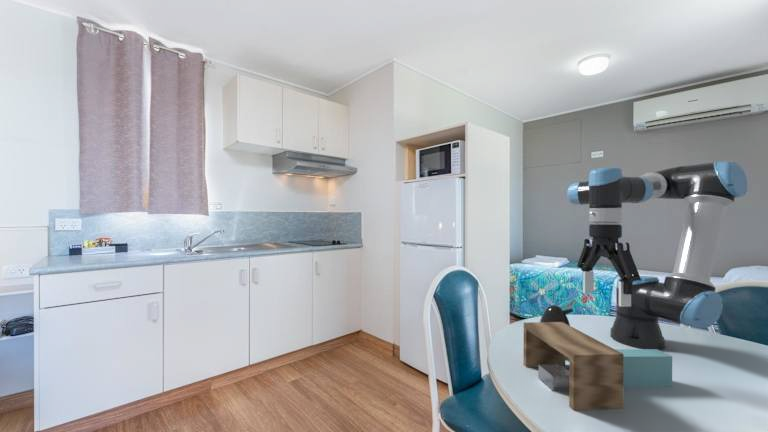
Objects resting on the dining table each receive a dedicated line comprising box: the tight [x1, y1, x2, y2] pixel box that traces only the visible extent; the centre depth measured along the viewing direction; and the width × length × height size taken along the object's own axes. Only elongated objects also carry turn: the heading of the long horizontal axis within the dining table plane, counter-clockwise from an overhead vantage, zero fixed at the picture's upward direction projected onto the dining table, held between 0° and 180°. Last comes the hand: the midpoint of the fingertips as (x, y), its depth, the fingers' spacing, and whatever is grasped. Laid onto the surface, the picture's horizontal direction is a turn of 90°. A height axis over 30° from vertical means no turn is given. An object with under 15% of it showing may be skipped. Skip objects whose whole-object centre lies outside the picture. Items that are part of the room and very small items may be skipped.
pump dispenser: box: [539, 304, 574, 326], centre depth 102 cm, size 10×10×15 cm
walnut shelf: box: [523, 321, 624, 411], centre depth 83 cm, size 12×22×12 cm, turn 4°
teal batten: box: [615, 348, 673, 388], centre depth 84 cm, size 23×4×8 cm, turn 91°
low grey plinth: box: [538, 364, 569, 392], centre depth 82 cm, size 6×6×4 cm
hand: (605, 299), depth 88 cm, fingers open, 13 cm apart
